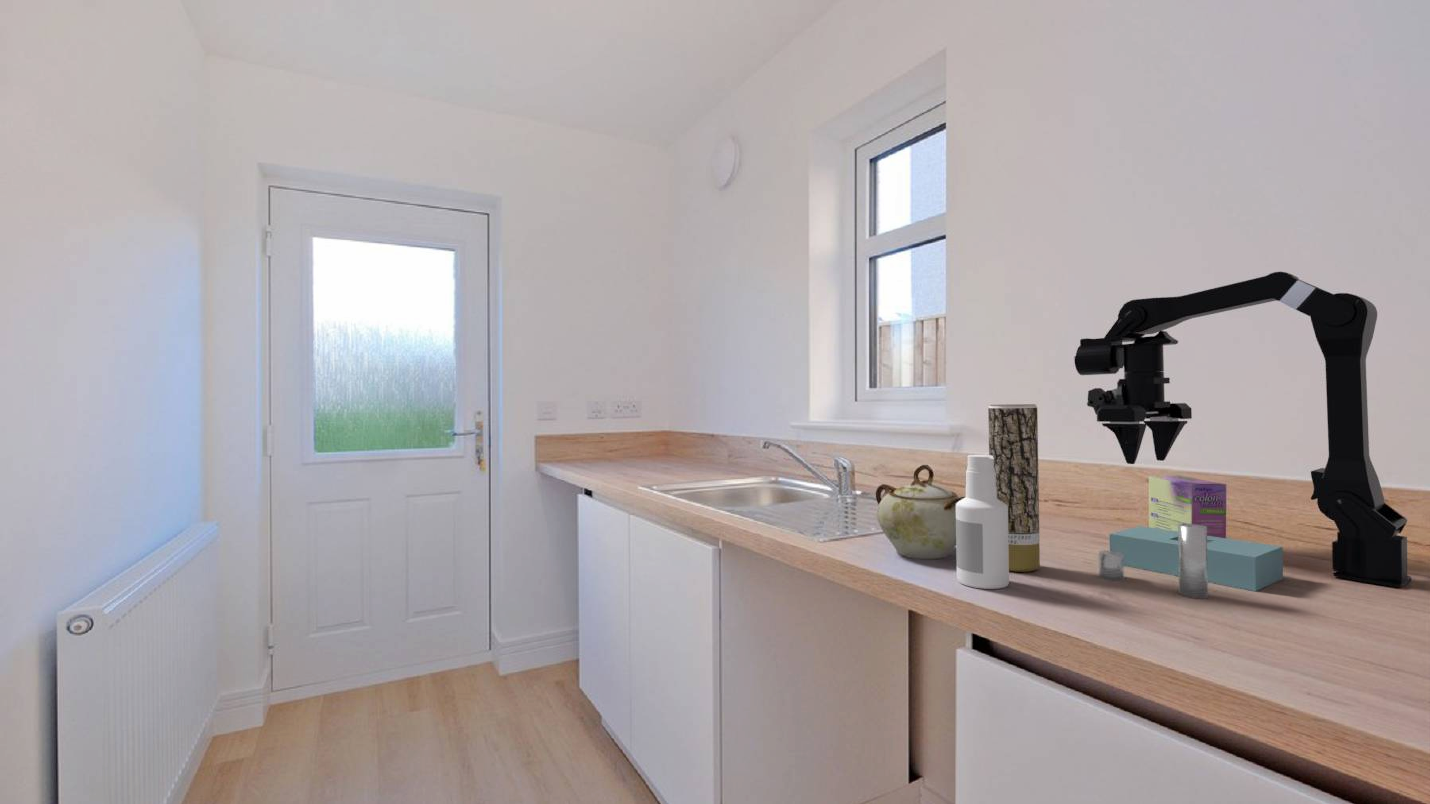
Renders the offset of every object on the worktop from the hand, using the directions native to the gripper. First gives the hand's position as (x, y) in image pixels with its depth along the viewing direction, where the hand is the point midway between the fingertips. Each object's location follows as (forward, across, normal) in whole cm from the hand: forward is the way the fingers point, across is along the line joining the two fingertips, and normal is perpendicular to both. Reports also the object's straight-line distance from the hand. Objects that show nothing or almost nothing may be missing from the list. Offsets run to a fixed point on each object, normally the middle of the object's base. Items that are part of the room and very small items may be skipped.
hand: (1145, 462), depth 109 cm
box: (+15, -2, +5) cm, 16 cm away
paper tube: (+14, +32, -2) cm, 35 cm away
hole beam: (+14, +12, +12) cm, 22 cm away
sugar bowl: (+14, +37, -16) cm, 43 cm away
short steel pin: (+14, +25, +8) cm, 30 cm away
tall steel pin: (+14, +24, +18) cm, 34 cm away
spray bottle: (+14, +43, 0) cm, 45 cm away
